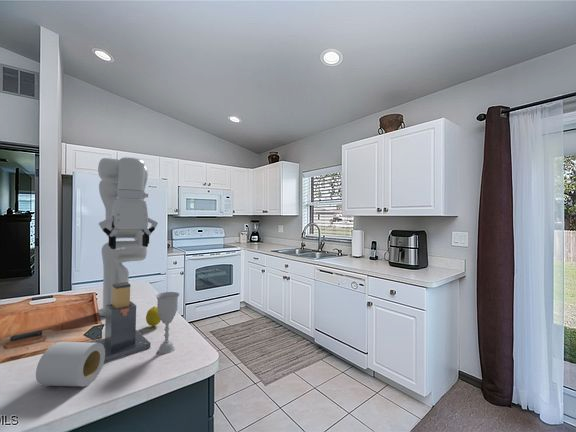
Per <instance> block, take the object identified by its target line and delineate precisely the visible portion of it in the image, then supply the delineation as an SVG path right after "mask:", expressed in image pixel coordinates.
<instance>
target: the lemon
mask: <svg viewBox="0 0 576 432" xmlns="http://www.w3.org/2000/svg"><path fill="white" fill-rule="evenodd" d="M145 321H146V323H147V325H149V326H151V327H153V328H154V327H156V326H157V325H159V323H161V322H162V321H161V319H160V317H159V314H158V311H157V307H156V306H155V305H154V306H153V307H151V308H150V309H148V311H147V312H146V317H145Z"/></svg>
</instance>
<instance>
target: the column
mask: <svg viewBox="0 0 576 432" xmlns="http://www.w3.org/2000/svg"><path fill="white" fill-rule="evenodd" d="M130 301H131V284H130V283H129V282H123V283H116V284H113V299H112V307H113V308H114V309H117V308H121V307H126V306H130Z"/></svg>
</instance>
